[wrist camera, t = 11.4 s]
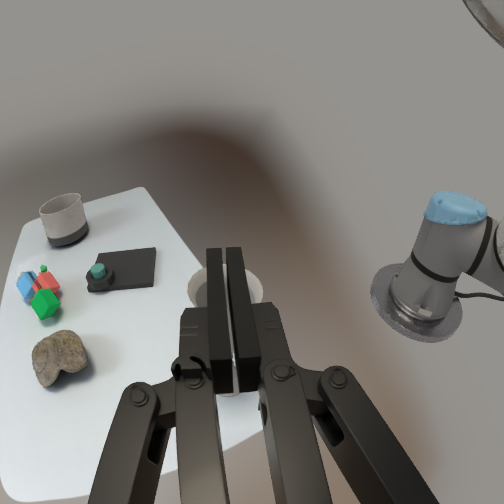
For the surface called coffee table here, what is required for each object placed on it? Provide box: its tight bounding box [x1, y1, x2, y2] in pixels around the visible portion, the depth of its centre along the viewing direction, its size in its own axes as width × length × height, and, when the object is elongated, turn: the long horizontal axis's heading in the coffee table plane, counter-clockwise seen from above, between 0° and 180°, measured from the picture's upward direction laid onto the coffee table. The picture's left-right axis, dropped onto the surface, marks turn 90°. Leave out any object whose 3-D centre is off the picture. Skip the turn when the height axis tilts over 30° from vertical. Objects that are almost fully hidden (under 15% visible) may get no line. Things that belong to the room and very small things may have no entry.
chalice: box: [187, 264, 263, 397], centre depth 30 cm, size 7×7×18 cm
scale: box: [86, 247, 156, 292], centre depth 53 cm, size 14×13×3 cm
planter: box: [39, 193, 88, 246], centre depth 61 cm, size 13×13×10 cm
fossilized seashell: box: [32, 330, 87, 387], centre depth 32 cm, size 11×11×7 cm
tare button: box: [91, 263, 106, 279], centre depth 48 cm, size 3×3×2 cm
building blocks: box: [16, 265, 61, 320], centre depth 41 cm, size 8×8×12 cm
